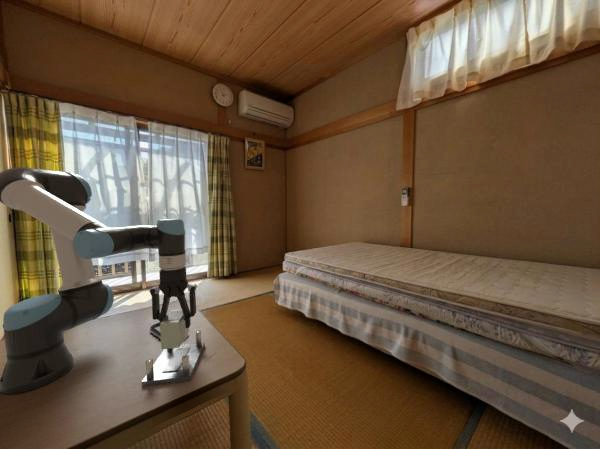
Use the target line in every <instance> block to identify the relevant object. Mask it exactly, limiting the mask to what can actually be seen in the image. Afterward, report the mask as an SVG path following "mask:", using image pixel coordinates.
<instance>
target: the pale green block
mask: <svg viewBox="0 0 600 449" xmlns="http://www.w3.org/2000/svg"><path fill="white" fill-rule="evenodd" d="M166 315H167V316H166V317H165V318H164V319H163V320H162V322H161V323H160V331H161V339H160V348H161V350H164V349H170V348H179V347H180V345H181V344H182V343H183V342H184V340H183V327H182V320H183V318H184V315H183V312H182V309H181V308H178V309H177V308H176V309H171V310H170V311H169V312H168V313H167V314H166ZM189 332H190V327H189V328H188V333H189Z"/></svg>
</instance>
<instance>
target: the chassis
mask: <svg viewBox="0 0 600 449" xmlns="http://www.w3.org/2000/svg"><path fill="white" fill-rule="evenodd" d="M205 344H206V343H205V341H203V340H202V330H196V331H195V342H194V343H193V342H192V343H183V344H181V345H180V347H179V348H170V349H162V352H161V353H160V354H159V356H158V357H157V359H156V360H155V362H154V359H153V358H149V359H146V360H145V371H146V373H145V374H146V375H145V377H143V379H142V380H141V387H151V386H159V385H167V384H169V385H170V384H176V383H185V382H191V381H192V378H193V375H194V373H195V370H196V368H197V366H198V363H199V360H200V358H201V357H202V354H203V351H204V349H205Z"/></svg>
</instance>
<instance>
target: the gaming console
mask: <svg viewBox="0 0 600 449" xmlns="http://www.w3.org/2000/svg"><path fill="white" fill-rule="evenodd" d="M149 331H150V333H151V334H153V336H155V337H156V338H158V339H160V340H161V331H160V321H159V322H157V323H155V324H152V325H151V326H150V327H149Z"/></svg>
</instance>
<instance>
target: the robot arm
mask: <svg viewBox="0 0 600 449" xmlns="http://www.w3.org/2000/svg"><path fill="white" fill-rule="evenodd" d="M92 191H93V190H92V187H91V185H90V183H89V182H88V180H86V179H85V178H84V177H82V175H79V174H76V173H71V172H68V171H57V170H49V169H40V168H33V167H25V166H22V167H21V166H20V167H11V168H8V169H5V170H2V171H0V203H1V204H3V205H5V206H6V207H7V208H10V209H13V210H16V211H23V212H24V213H26V214H27V215H29V216H31V217H32V218H34V219H36V220H38V221H39V222H41V223H43V224H44V225H46V226H47V227H49V228H50V230H51V235H52V239H53V240H52V241H53V244H54V248H55V253H56V258H57V262H58V266H59V267H58V268H59V271H60V272H59V273H60V276H61V280H62V285H61V286H60V287H59V288H58V290H57V293H47V294H42V295H38V296H37V295H36V296H34V297H30V298H27V299H24V300H21V301H20V302H17V303H14V304H13V305H11V306H10V307H8V308H7V310H5V311H4V314H3V323H2V329H3V336H4V343H5V344H4V345H5V352H6V353H5V354H6V363H5V364H4V368H3V370H2V374H1V377H0V393H1V392H2V393H1V394H4V393H5V394H6V395H13V394H20V393H21V394H22V393H25V392H28V391H32V390H34V389H35V390H36V389H39V388H40V387H43V386H45V385H47V384H49V383H52V382H54V381H56V380H58V379H59V378H61V377H62V376H64V375H66V374H67V373H68V372H69V371H70V370H71V369H72V368H73V366H74V357H73V354H72V353H71V352H70V351H69V348H68V346H67V345H66V342H65V337H64V333H65V332H66V331H69V330H72V329H73V328H76V327H79V326H80V325H83V324H86V323H88V322H91V321H94V320H97V319H98V318H100V317H101V316H104V315H106V314H107V313H108V312H109V311H110V310H111V309H112V307H113V304H114V300H115V296H114V291H113V288H111V287H110V285H108V284H106V283H103V280H102V278H99V277H97V276H96V273H95V268H94V264H93V259H101V258H105V257H108V256H109V257H110V256H115V255H118V254H123V253H129V252H130V253H131V252H133V251H134V252H135V251H138V250H143V249H144V250H145V249H147V250H149V249H150V250H151V249H152V250H153V249H157V250H158V252H157V253H158V266H159V267H158V268H160V269H159V270H158V271H159V272H158V273H159V284H158V286H157V285H156V286H153V287H152V288H150V289H149V293H150V296H151V309H152V310H151V311H152V312H151V313H152V314H151V315H152V320H157V321H159V322H160V323H161V322H162V320H163V319H164V318H165V317H166V316H167V315H168V311H169V310H168V309H169V305H170V300H171V298H172V297H173V298H174V297H175V298H176V299H177V300H178V303H179V305H180V309H182V312H183V315H184V318H183V320H182V327H183V341H184V340H186V339H187V338H188V336H189V332H188V328H189V329H190V327H191V324H192V323H191V318H193V317H195V315H196V313H197V301H196V300H197V299H196V297H197V296H196V290H197V288H198V285H197V284H196V283H194V284H192V283H191V284H190V283H189V282H188V280H187V267H186V265H187V259H186V255H187V254H186V238H185V237H186V231H185V224H184V223H185V222H184V221H183V219H182V218H164V219H163V218H160V219H158V220H156V221H157V222H156V225H149V224H148V225H147V224H134V225H133V224H132V225H129V226H120V227H119V226H118V227H117V226H116V227H115V226H114V227H110V226H108V225H106V224H104V223H102V222H100V221H99V220H97V219H95V218H93V217H92V216H90V215H89V214H86V213H84V211H85V210H86V209H87V204H88V203H89V202H90V201H91V199H92V196H93V195H92V194H93V193H92ZM186 289H187V291H188V292H189V294H188V295H189V296H188V297H189V305H188V302H187V298H186V293H185V291H186ZM160 292H162V294H163V298H162V304H161V305H160V302H161V301H160V300H161V299H160ZM160 308H161V309H160Z"/></svg>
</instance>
